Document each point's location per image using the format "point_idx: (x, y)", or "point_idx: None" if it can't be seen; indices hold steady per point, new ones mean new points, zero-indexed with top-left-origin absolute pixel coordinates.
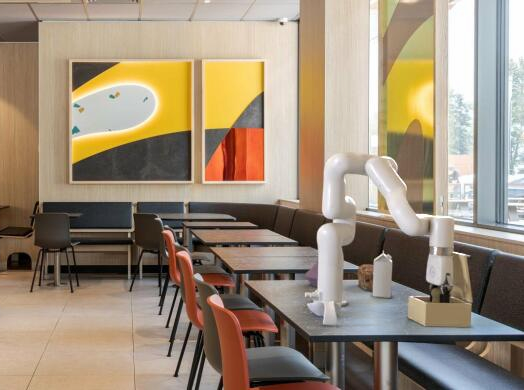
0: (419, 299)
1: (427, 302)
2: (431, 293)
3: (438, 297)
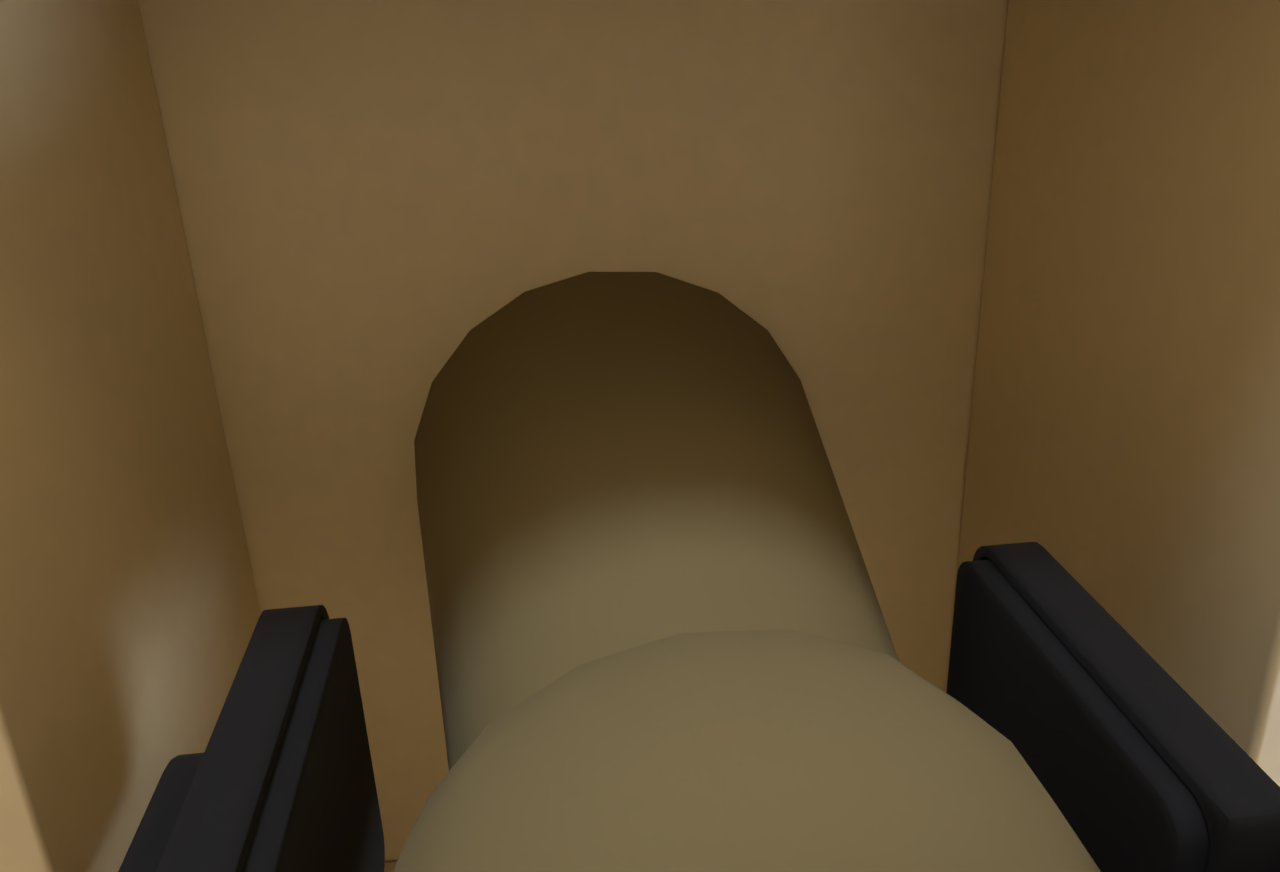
0: (1274, 254)
1: (1159, 502)
2: (812, 676)
3: (446, 778)
